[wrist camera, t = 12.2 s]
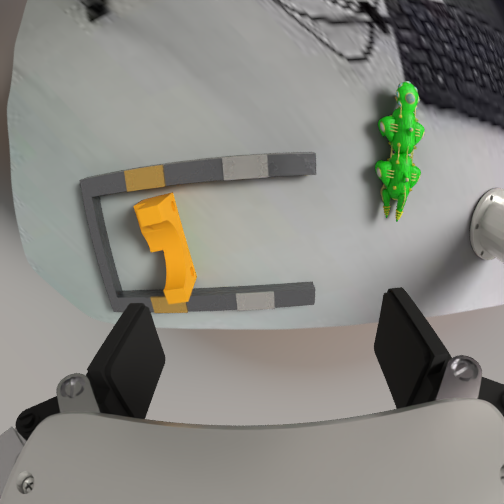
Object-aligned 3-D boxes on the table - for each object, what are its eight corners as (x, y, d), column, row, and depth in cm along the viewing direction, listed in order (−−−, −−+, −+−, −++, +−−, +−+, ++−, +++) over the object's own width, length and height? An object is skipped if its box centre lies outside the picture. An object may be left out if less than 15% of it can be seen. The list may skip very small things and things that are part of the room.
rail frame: (312, 151, 33) (315, 152, 31) (311, 297, 41) (314, 305, 39) (87, 177, 34) (78, 180, 32) (118, 304, 42) (113, 312, 40)
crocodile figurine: (417, 89, 29) (434, 87, 25) (406, 216, 36) (421, 226, 32) (374, 78, 29) (389, 73, 25) (365, 213, 36) (378, 223, 32)
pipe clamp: (142, 199, 35) (122, 214, 29) (173, 192, 35) (157, 204, 29) (168, 280, 40) (155, 306, 34) (197, 276, 40) (188, 301, 34)
